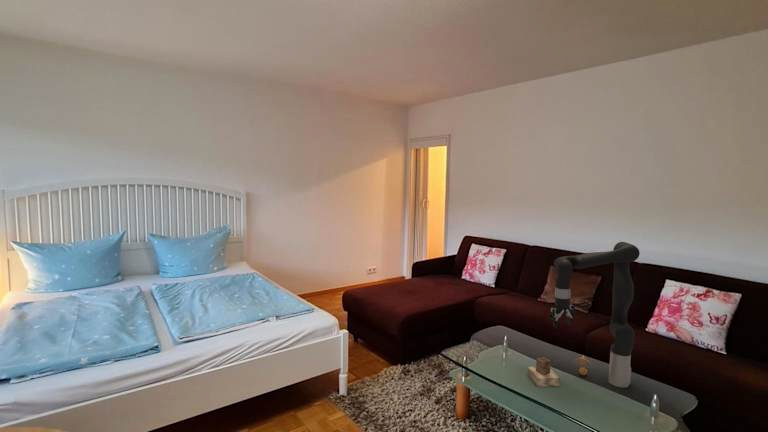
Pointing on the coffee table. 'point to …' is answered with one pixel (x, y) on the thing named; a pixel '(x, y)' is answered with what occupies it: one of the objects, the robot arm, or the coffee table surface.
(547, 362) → the walnut block
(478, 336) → the coffee table surface
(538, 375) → the birch block
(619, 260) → the robot arm
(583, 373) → the figurine
